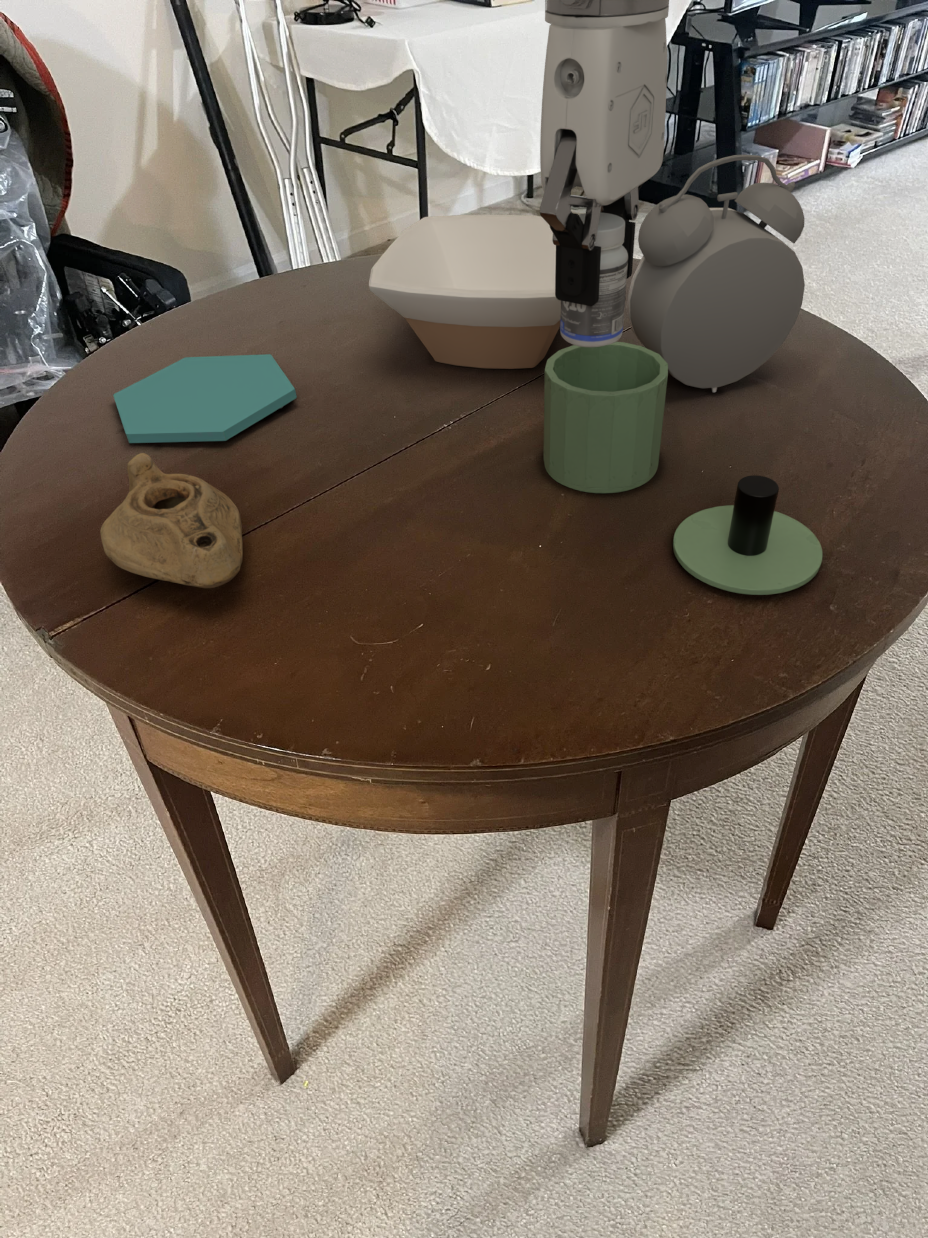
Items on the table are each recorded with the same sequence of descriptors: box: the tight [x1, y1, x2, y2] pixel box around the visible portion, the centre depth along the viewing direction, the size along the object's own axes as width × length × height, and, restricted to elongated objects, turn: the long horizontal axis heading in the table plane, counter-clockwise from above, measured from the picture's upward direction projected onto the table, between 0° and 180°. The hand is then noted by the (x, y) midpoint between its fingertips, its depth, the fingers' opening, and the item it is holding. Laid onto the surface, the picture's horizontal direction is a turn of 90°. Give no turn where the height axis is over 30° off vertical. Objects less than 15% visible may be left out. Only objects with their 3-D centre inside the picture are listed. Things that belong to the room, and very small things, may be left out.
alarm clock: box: [627, 154, 806, 393], centre depth 90 cm, size 16×9×22 cm, turn 108°
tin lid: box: [672, 474, 824, 596], centre depth 72 cm, size 11×11×7 cm
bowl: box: [368, 214, 561, 370], centre depth 103 cm, size 24×25×11 cm
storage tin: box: [542, 341, 669, 494], centre depth 83 cm, size 10×10×10 cm
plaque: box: [112, 353, 298, 444], centre depth 98 cm, size 17×2×20 cm
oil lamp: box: [99, 452, 244, 589], centre depth 74 cm, size 11×15×8 cm
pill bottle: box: [559, 212, 628, 347], centre depth 68 cm, size 5×5×8 cm
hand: (594, 285), depth 68 cm, fingers closed on pill bottle, 4 cm apart
